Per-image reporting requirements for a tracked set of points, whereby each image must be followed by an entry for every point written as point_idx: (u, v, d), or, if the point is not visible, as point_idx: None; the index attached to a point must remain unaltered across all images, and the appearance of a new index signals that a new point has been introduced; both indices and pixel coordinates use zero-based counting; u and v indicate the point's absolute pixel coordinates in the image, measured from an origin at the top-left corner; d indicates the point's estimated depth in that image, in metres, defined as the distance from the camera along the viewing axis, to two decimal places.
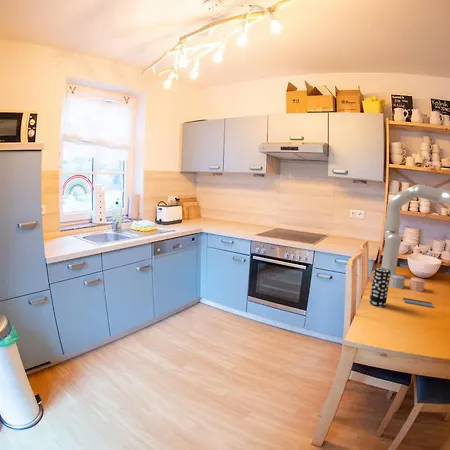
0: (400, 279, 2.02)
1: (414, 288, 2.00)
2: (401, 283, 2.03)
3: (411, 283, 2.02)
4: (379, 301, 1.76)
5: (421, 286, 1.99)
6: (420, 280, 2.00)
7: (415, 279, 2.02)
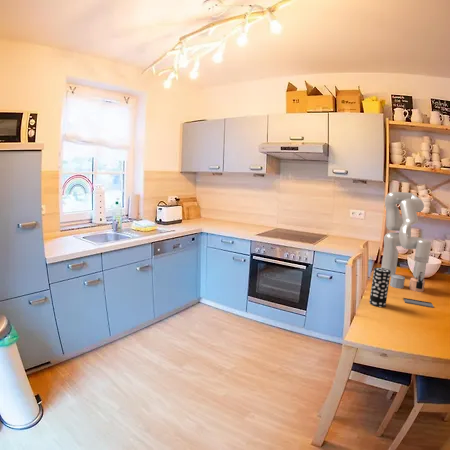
0: (400, 279, 2.02)
1: (414, 288, 2.00)
2: (401, 283, 2.03)
3: (411, 283, 2.02)
4: (379, 301, 1.76)
5: None
6: None
7: (415, 279, 2.02)
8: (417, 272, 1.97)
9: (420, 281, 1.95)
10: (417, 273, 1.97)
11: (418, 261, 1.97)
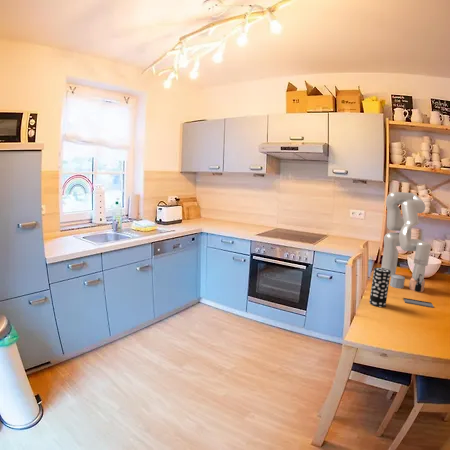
0: (400, 279, 2.02)
1: (414, 288, 2.00)
2: (401, 283, 2.03)
3: (411, 283, 2.02)
4: (379, 301, 1.76)
5: None
6: None
7: None
8: (416, 274, 1.97)
9: (419, 284, 1.96)
10: (416, 275, 1.97)
11: (417, 263, 1.98)
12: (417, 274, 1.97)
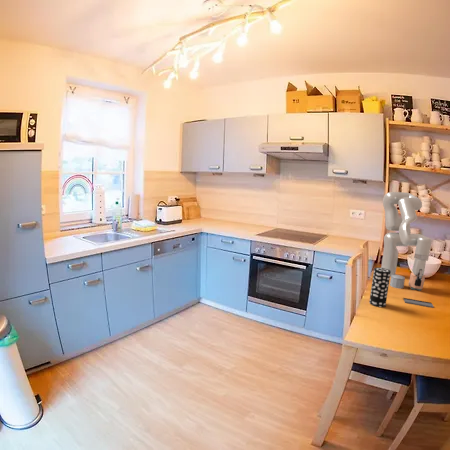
0: (400, 279, 2.02)
1: (414, 283, 2.00)
2: (401, 283, 2.03)
3: (411, 278, 2.02)
4: (379, 301, 1.76)
5: (421, 281, 1.99)
6: None
7: None
8: (416, 269, 1.97)
9: (419, 279, 1.97)
10: (416, 270, 1.97)
11: (418, 258, 1.98)
12: (417, 269, 1.97)
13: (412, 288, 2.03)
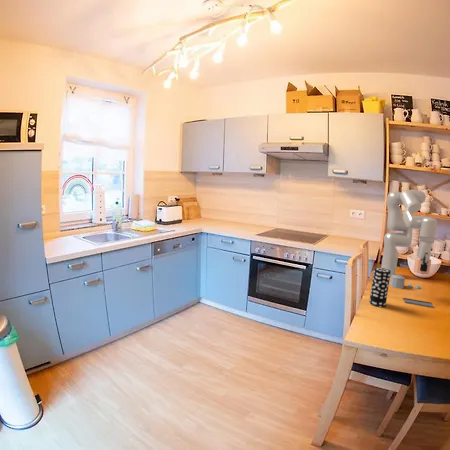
0: (400, 279, 2.02)
1: None
2: (401, 283, 2.03)
3: (416, 263, 1.87)
4: (379, 301, 1.76)
5: (427, 266, 1.84)
6: None
7: None
8: (422, 253, 1.83)
9: (425, 263, 1.82)
10: (422, 254, 1.83)
11: (423, 241, 1.83)
12: (423, 252, 1.82)
13: None
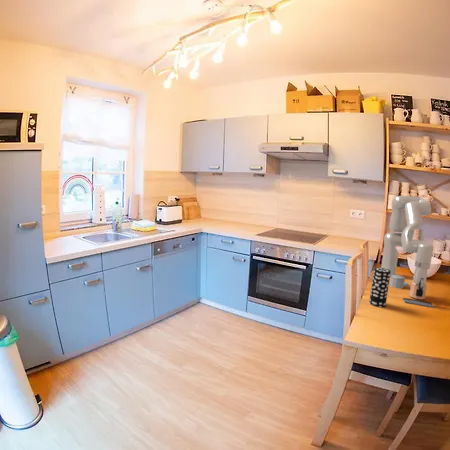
0: (400, 279, 2.02)
1: (415, 293, 1.86)
2: (401, 283, 2.03)
3: (412, 287, 1.88)
4: (379, 301, 1.76)
5: (423, 291, 1.85)
6: None
7: None
8: (418, 278, 1.83)
9: (420, 288, 1.82)
10: (418, 279, 1.83)
11: (419, 266, 1.84)
12: (418, 278, 1.83)
13: None
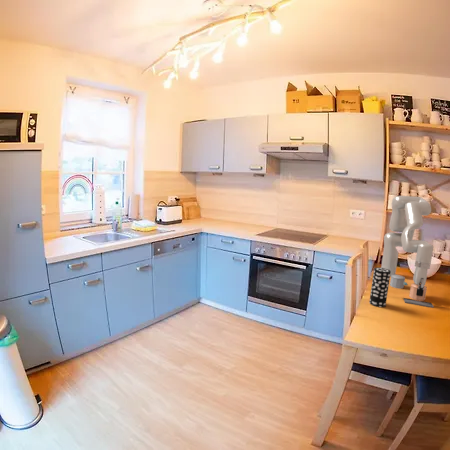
0: (400, 279, 2.02)
1: (415, 295, 1.86)
2: (401, 283, 2.03)
3: (412, 290, 1.88)
4: (379, 301, 1.76)
5: None
6: None
7: (416, 285, 1.88)
8: (418, 278, 1.83)
9: (421, 288, 1.81)
10: (418, 279, 1.83)
11: (419, 266, 1.83)
12: (418, 278, 1.83)
13: None
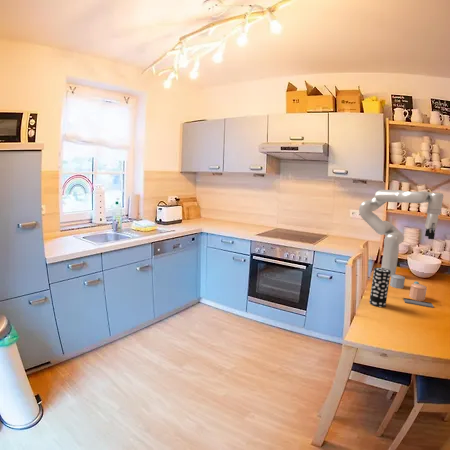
0: (400, 279, 2.02)
1: (415, 295, 1.86)
2: (401, 283, 2.03)
3: (412, 290, 1.88)
4: (379, 301, 1.76)
5: (422, 293, 1.85)
6: (421, 287, 1.86)
7: (416, 285, 1.88)
8: (429, 223, 2.06)
9: (432, 231, 2.05)
10: (429, 224, 2.06)
11: (431, 213, 2.07)
12: (430, 223, 2.06)
13: None
